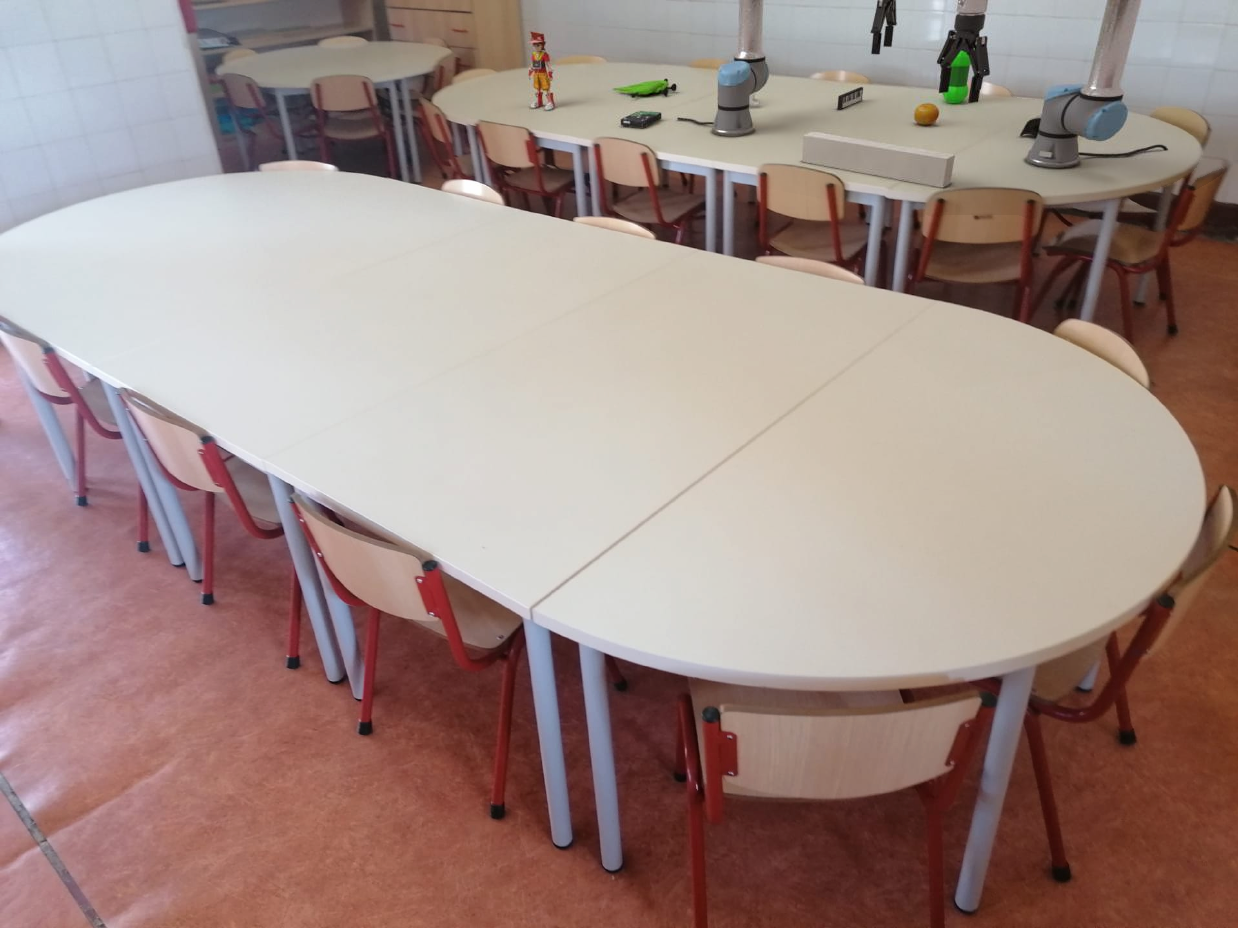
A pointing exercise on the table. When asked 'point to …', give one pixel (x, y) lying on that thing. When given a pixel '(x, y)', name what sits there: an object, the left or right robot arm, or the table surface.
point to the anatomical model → (751, 98)
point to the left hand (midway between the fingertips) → (881, 50)
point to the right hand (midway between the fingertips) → (957, 97)
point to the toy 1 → (541, 71)
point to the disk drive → (641, 119)
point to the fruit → (926, 114)
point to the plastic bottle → (958, 79)
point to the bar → (878, 159)
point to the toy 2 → (648, 88)
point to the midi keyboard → (850, 98)
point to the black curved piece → (1032, 126)
